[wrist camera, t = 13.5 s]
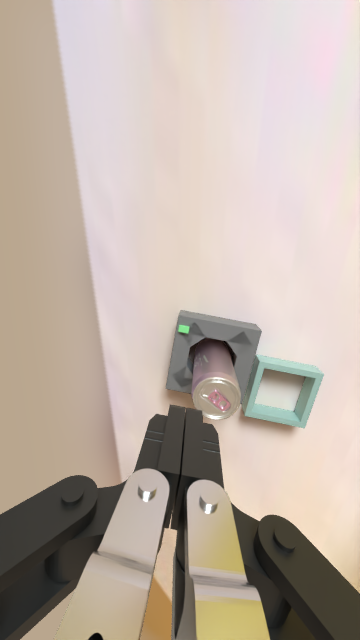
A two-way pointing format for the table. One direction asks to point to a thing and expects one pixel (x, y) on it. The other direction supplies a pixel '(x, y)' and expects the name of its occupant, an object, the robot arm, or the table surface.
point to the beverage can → (214, 380)
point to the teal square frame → (276, 414)
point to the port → (200, 326)
